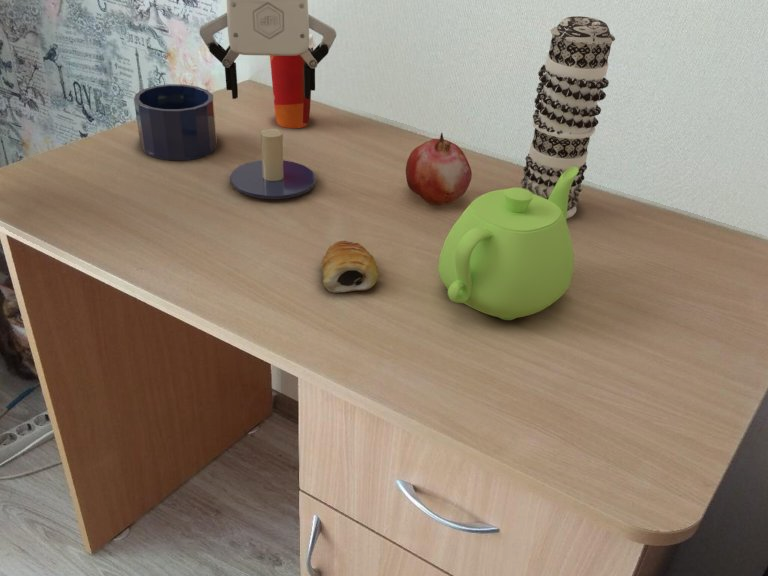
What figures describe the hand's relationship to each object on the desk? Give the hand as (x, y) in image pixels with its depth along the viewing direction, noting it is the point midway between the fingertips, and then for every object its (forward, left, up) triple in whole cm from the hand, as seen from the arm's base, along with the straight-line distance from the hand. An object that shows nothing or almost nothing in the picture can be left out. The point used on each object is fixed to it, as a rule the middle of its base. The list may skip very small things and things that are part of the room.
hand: (271, 95), depth 105 cm
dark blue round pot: (-14, +14, -13) cm, 24 cm away
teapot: (+27, -30, -13) cm, 42 cm away
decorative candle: (+39, -8, -13) cm, 42 cm away
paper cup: (+4, +24, -13) cm, 27 cm away
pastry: (+8, -26, -13) cm, 30 cm away
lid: (0, 0, -12) cm, 12 cm away
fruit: (+23, -5, -13) cm, 27 cm away
